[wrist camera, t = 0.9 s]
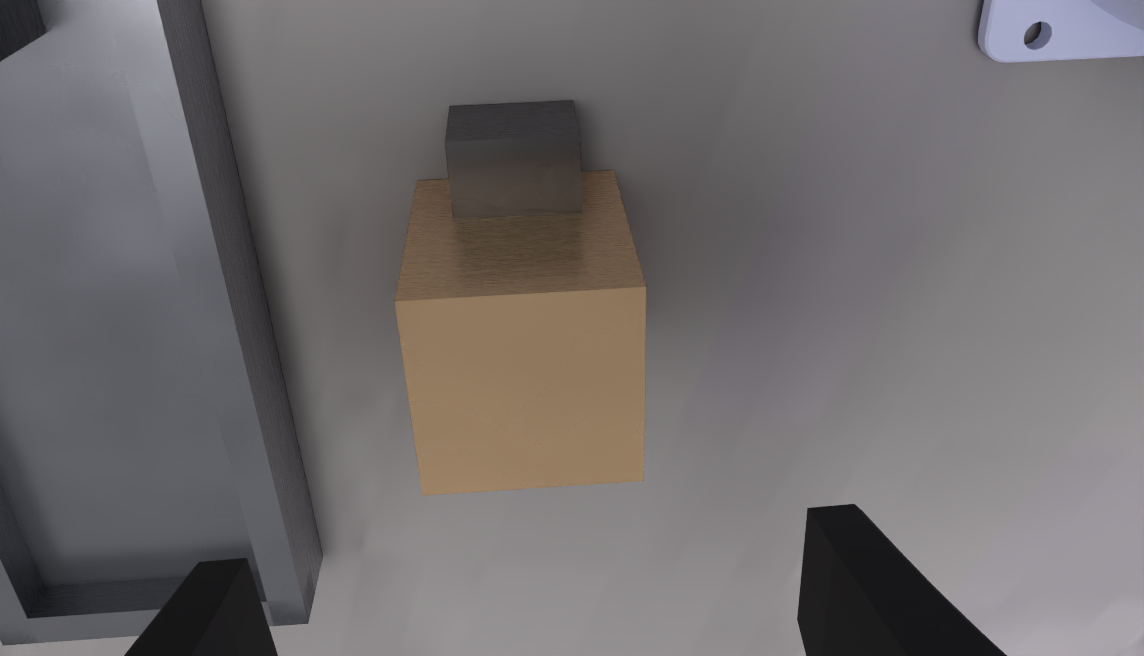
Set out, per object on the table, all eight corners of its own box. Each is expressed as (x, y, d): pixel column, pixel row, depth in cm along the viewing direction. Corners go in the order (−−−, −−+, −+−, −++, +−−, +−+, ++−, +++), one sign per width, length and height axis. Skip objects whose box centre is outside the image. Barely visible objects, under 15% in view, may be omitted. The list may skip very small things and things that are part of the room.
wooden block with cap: (613, 98, 19) (647, 200, 15) (614, 337, 22) (643, 480, 17) (408, 108, 19) (381, 213, 14) (436, 347, 21) (422, 495, 17)
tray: (101, -443, 14) (40, -474, 12) (322, 556, 24) (308, 623, 22) (-393, -431, 14) (-534, -461, 12) (41, 575, 24) (2, 645, 22)
